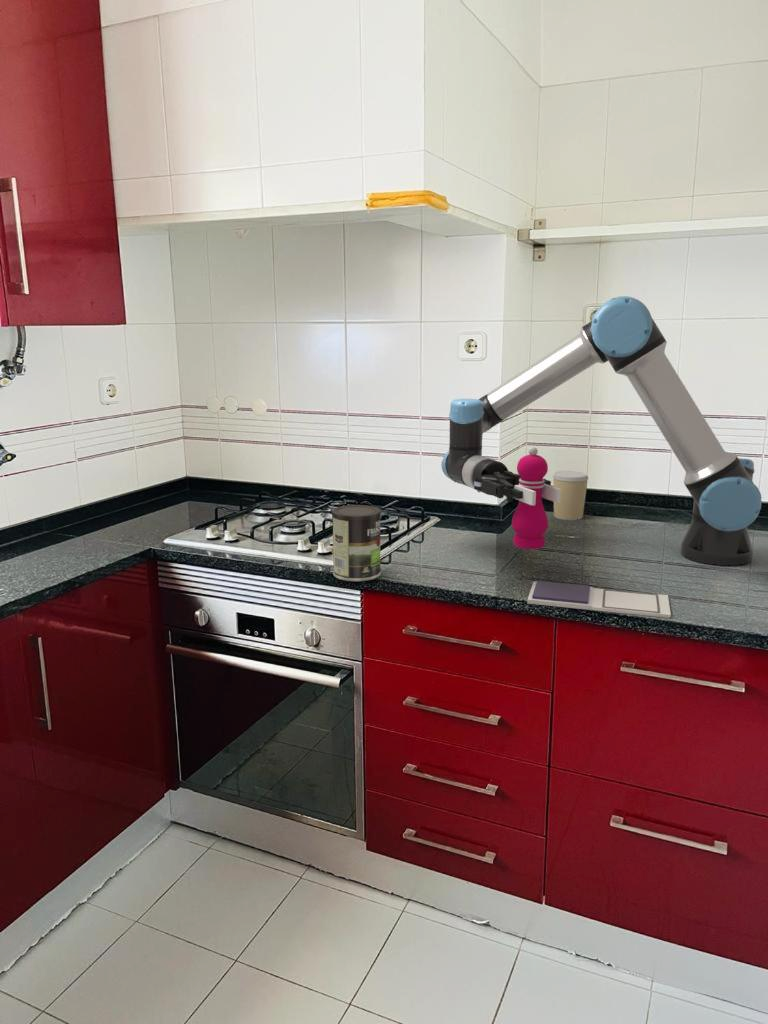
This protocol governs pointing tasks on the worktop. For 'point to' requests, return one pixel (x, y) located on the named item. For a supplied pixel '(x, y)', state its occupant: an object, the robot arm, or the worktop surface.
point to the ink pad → (561, 595)
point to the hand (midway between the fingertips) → (546, 497)
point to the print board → (631, 602)
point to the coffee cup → (570, 494)
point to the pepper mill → (531, 517)
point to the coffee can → (356, 542)
